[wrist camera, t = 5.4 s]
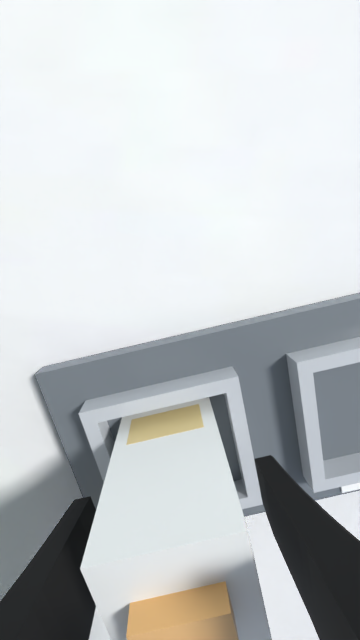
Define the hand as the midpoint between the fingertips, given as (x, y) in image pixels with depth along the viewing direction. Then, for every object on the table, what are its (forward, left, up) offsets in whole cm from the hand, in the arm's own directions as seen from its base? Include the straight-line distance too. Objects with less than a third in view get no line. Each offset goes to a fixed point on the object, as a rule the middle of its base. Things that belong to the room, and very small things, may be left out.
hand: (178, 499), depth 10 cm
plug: (0, 0, -3) cm, 3 cm away
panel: (0, -4, -4) cm, 6 cm away
